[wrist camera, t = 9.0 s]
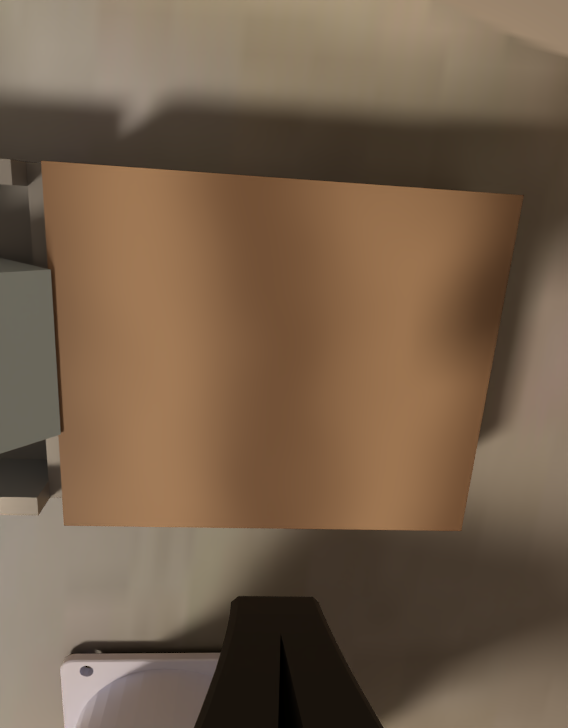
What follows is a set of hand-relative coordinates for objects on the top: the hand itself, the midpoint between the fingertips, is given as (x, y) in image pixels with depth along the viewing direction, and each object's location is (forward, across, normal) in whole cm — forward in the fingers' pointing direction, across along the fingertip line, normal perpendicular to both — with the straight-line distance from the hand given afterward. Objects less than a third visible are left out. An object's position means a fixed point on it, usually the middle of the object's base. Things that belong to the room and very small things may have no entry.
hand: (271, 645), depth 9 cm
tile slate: (+8, +7, -3) cm, 11 cm away
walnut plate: (+10, 0, -2) cm, 11 cm away
